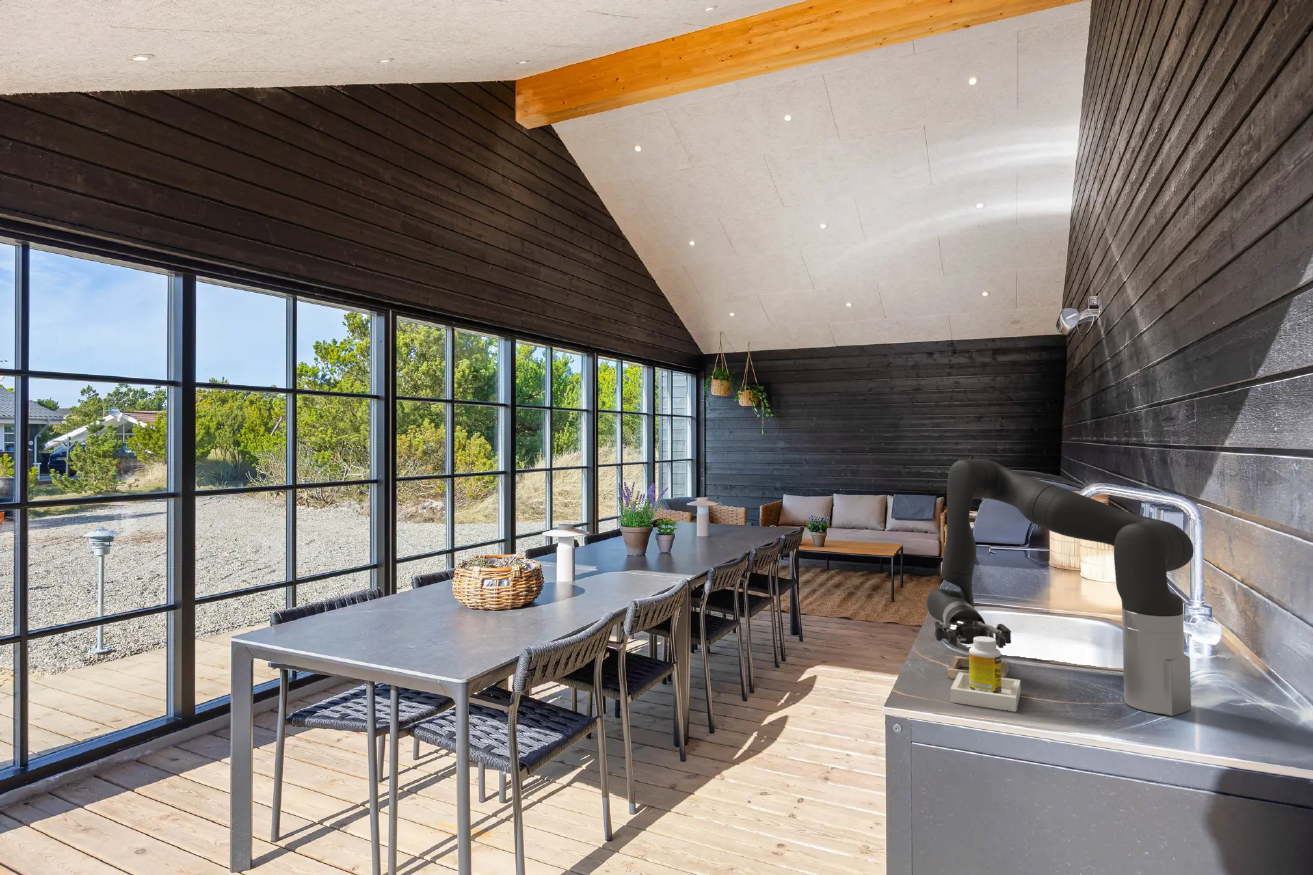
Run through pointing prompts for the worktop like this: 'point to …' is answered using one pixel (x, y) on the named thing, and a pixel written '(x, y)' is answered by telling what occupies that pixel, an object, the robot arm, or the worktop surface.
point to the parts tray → (986, 694)
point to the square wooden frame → (964, 662)
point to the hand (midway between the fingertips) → (978, 642)
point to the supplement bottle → (985, 665)
